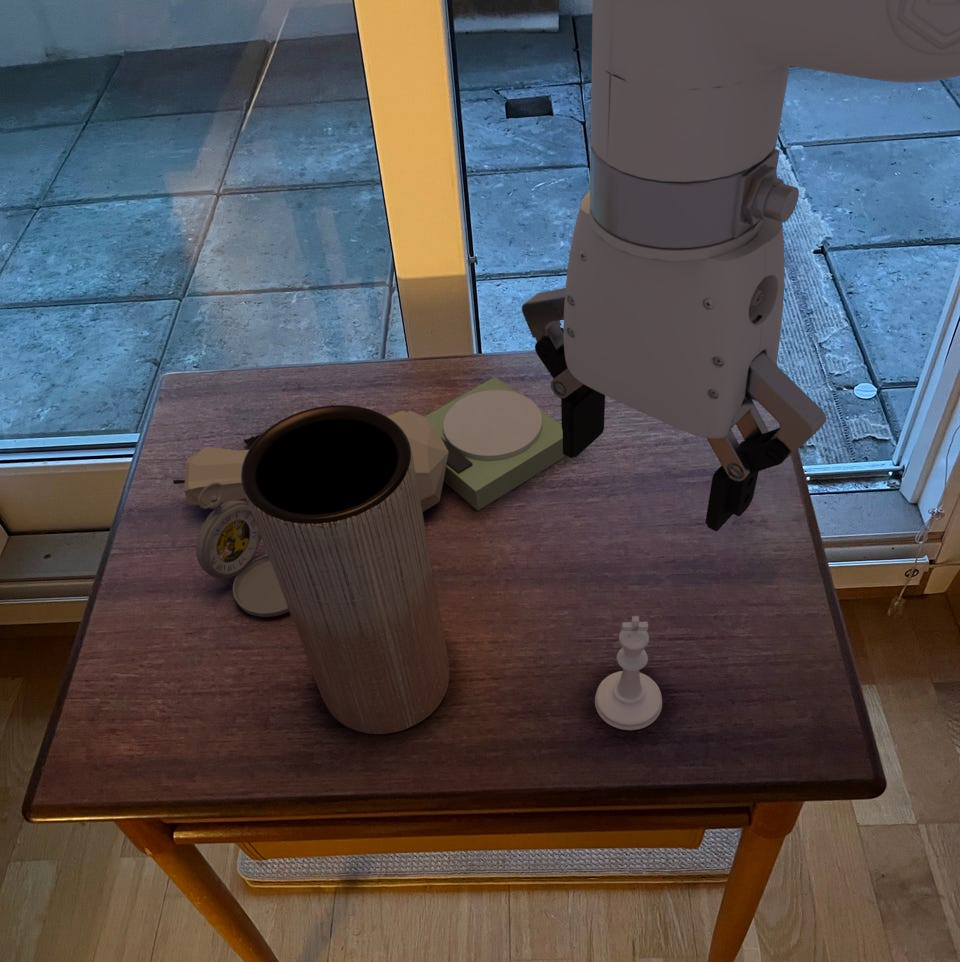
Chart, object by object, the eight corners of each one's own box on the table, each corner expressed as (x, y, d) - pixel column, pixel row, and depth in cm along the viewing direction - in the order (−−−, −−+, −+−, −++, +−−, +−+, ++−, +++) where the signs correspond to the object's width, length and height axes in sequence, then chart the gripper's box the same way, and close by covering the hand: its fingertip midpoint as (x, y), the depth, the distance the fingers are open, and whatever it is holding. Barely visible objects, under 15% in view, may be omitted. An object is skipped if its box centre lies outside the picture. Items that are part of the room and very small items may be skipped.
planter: (316, 740, 70) (228, 527, 52) (326, 633, 76) (250, 409, 58) (451, 732, 70) (409, 514, 52) (450, 625, 76) (412, 396, 58)
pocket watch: (309, 619, 77) (278, 534, 69) (208, 623, 78) (166, 539, 70) (320, 545, 82) (293, 458, 74) (225, 549, 83) (188, 463, 75)
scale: (496, 396, 92) (494, 371, 90) (572, 452, 87) (572, 427, 84) (405, 449, 89) (400, 424, 86) (477, 511, 83) (475, 486, 81)
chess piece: (593, 675, 72) (596, 590, 64) (659, 674, 71) (670, 588, 63) (596, 731, 69) (599, 649, 61) (664, 730, 68) (677, 648, 60)
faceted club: (452, 529, 81) (172, 547, 84) (459, 482, 87) (200, 500, 90) (438, 433, 75) (139, 456, 78) (447, 391, 82) (172, 413, 85)
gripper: (913, 200, 38) (823, 504, 52) (570, 98, 46) (571, 387, 59) (819, 290, 35) (750, 588, 49) (468, 165, 42) (493, 453, 56)
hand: (651, 477), depth 54 cm, fingers open, 9 cm apart
